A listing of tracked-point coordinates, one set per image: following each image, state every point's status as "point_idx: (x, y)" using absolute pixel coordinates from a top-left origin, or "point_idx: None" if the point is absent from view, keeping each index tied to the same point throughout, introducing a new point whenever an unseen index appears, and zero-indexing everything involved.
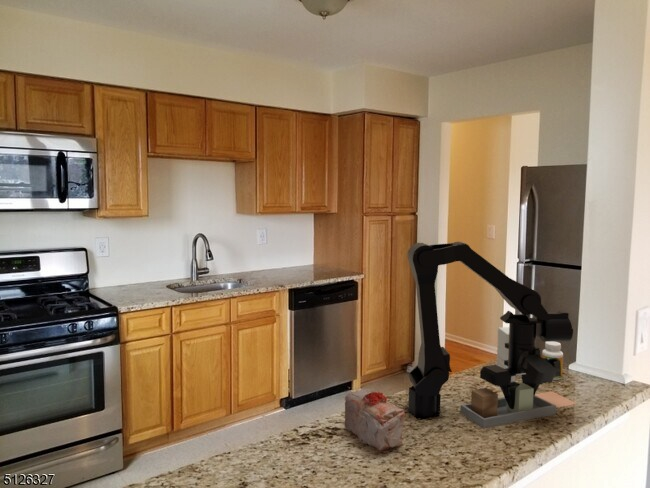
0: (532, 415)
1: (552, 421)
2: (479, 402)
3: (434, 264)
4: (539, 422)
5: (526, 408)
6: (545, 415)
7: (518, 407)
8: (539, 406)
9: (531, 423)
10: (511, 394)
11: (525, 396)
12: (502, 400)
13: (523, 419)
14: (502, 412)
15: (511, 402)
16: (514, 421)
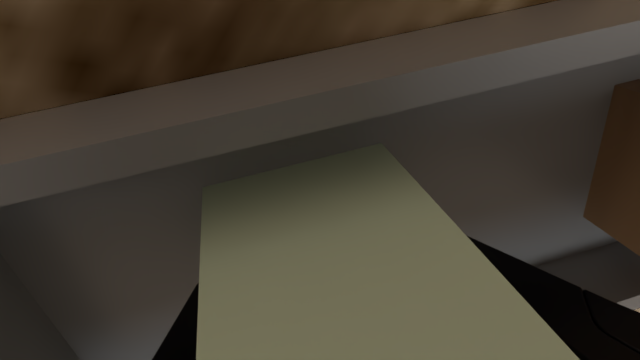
0: (281, 77)
1: (7, 14)
2: None
3: None
4: (202, 18)
5: (298, 202)
6: (67, 115)
7: (420, 192)
8: (48, 318)
9: (308, 11)
10: (637, 318)
11: (377, 312)
12: None
13: (402, 44)
14: (465, 218)
15: (500, 251)
16: (518, 17)
